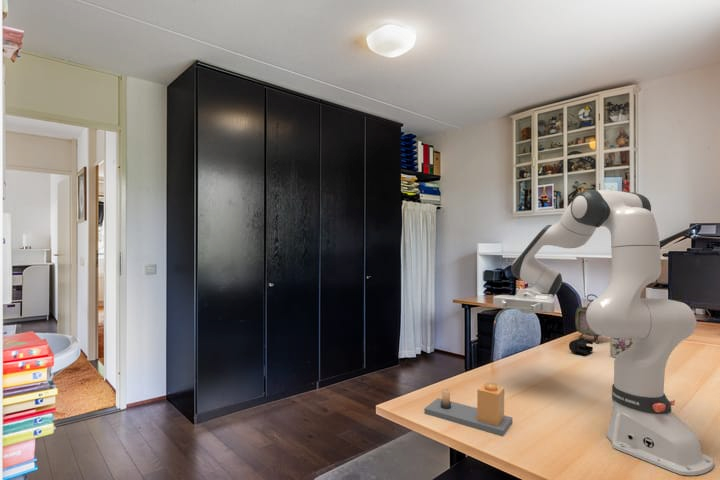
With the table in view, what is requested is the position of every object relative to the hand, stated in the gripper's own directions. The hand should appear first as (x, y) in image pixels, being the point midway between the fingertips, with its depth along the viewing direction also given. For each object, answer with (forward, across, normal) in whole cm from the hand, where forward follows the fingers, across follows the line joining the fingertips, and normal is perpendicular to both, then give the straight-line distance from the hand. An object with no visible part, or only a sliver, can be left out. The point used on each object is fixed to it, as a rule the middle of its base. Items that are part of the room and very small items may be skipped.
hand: (518, 306), depth 133 cm
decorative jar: (-79, +30, +32) cm, 91 cm away
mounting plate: (+23, -9, +32) cm, 40 cm away
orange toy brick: (+23, -2, +30) cm, 38 cm away
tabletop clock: (-105, +13, +32) cm, 111 cm away
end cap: (-76, +11, +32) cm, 83 cm away
